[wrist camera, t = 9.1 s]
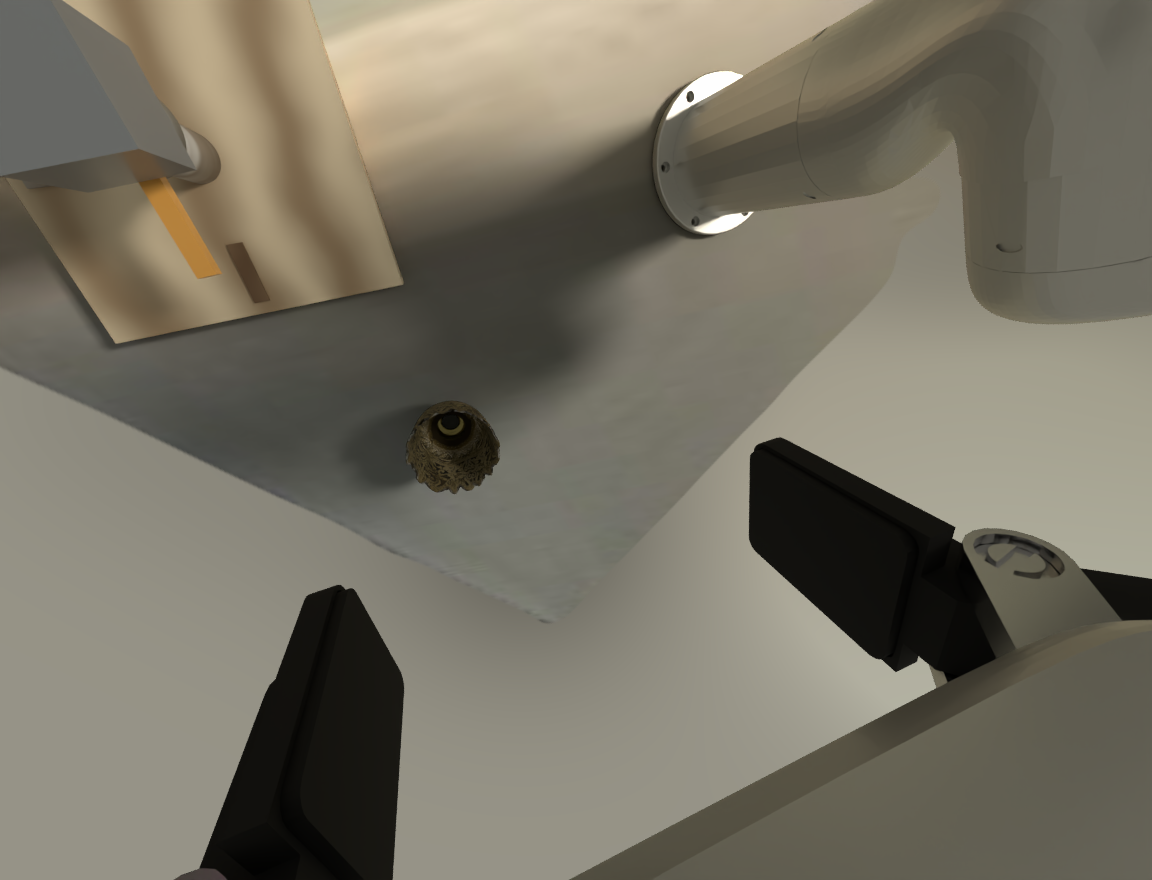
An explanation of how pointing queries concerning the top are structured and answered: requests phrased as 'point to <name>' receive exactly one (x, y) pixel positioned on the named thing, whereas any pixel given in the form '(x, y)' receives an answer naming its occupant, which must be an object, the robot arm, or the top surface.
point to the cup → (452, 448)
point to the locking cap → (88, 116)
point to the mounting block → (226, 175)
